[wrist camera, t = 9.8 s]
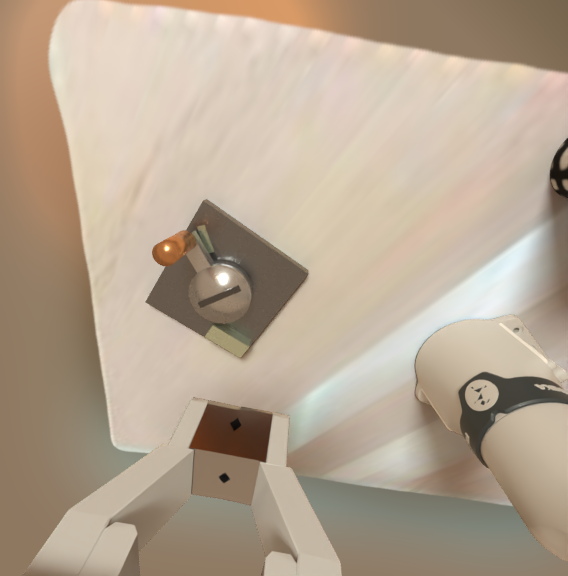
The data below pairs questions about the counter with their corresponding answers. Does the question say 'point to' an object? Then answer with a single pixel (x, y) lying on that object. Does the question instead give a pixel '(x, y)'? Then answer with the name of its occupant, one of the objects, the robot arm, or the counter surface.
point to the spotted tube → (560, 170)
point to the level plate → (243, 252)
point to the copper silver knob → (208, 278)
